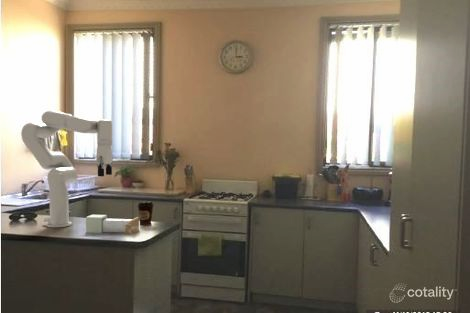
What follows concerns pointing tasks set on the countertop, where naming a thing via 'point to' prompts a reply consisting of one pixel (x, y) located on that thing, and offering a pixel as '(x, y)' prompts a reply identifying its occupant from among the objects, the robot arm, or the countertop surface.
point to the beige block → (132, 226)
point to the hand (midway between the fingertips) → (105, 175)
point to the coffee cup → (145, 212)
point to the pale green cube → (94, 223)
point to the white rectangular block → (114, 225)
